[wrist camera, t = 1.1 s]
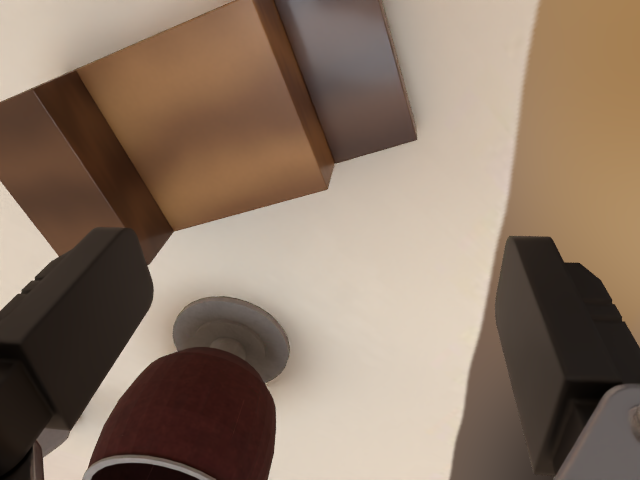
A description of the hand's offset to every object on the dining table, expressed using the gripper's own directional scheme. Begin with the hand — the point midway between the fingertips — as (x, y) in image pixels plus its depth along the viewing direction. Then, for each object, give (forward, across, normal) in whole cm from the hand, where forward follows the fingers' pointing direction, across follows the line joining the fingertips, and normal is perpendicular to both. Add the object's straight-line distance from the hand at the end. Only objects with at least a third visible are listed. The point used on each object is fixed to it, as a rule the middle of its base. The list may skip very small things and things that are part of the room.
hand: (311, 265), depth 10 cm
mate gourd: (+25, +14, +29) cm, 41 cm away
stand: (+25, +10, +4) cm, 27 cm away
